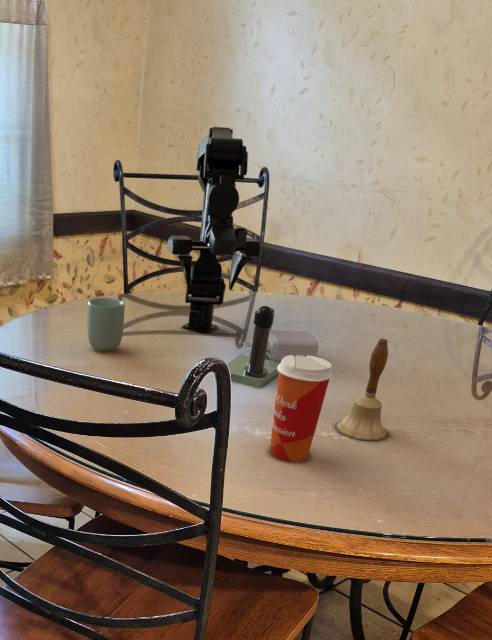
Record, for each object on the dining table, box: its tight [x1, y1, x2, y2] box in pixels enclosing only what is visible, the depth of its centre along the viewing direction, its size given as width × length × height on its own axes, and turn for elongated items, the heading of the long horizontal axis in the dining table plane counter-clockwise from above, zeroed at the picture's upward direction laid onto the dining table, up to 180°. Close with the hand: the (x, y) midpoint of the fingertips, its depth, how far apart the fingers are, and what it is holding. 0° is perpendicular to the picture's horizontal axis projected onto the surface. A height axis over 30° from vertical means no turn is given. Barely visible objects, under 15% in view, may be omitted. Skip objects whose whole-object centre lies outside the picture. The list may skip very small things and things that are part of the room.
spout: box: [253, 305, 275, 331], centre depth 139 cm, size 10×4×6 cm, turn 162°
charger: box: [242, 330, 320, 362], centre depth 156 cm, size 5×9×15 cm
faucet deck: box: [227, 324, 281, 388], centre depth 143 cm, size 13×10×11 cm
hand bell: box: [336, 338, 389, 442], centre depth 119 cm, size 8×8×16 cm
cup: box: [86, 297, 126, 352], centre depth 153 cm, size 8×8×10 cm
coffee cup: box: [269, 355, 334, 463], centre depth 110 cm, size 8×8×15 cm
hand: (209, 289), depth 152 cm, fingers open, 9 cm apart
